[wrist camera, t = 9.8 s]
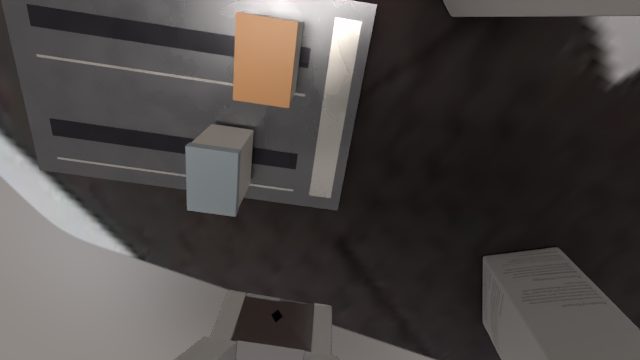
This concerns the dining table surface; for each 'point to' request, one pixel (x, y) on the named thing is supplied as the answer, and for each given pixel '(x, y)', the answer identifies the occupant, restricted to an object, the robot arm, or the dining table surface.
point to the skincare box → (551, 310)
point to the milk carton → (541, 8)
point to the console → (186, 89)
